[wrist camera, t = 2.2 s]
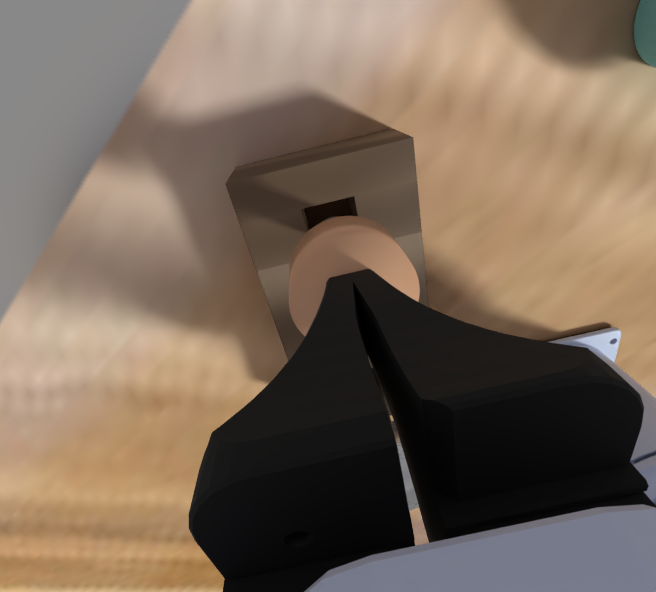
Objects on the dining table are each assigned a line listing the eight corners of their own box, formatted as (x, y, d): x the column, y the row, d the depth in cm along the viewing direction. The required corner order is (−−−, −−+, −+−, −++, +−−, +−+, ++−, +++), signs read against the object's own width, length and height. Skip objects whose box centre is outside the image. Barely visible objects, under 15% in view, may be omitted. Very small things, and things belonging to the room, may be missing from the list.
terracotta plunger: (384, 261, 17) (424, 337, 12) (302, 280, 17) (306, 363, 12) (371, 175, 15) (413, 223, 10) (278, 198, 15) (272, 256, 10)
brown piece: (420, 368, 26) (437, 404, 23) (311, 392, 27) (314, 432, 23) (392, 128, 18) (412, 137, 15) (236, 167, 18) (225, 183, 15)
